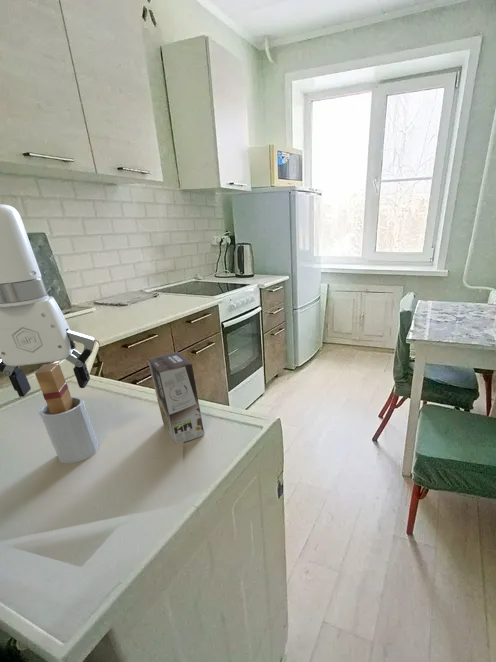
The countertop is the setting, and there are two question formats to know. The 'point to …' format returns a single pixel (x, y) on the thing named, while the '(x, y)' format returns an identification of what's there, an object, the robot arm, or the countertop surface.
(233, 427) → the countertop surface
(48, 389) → the chopstick bundle
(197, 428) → the coffee box
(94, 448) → the light gray cup
